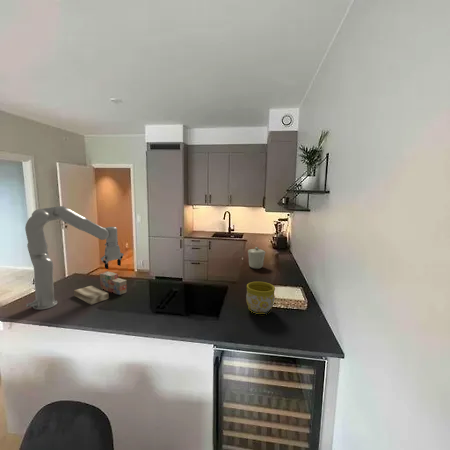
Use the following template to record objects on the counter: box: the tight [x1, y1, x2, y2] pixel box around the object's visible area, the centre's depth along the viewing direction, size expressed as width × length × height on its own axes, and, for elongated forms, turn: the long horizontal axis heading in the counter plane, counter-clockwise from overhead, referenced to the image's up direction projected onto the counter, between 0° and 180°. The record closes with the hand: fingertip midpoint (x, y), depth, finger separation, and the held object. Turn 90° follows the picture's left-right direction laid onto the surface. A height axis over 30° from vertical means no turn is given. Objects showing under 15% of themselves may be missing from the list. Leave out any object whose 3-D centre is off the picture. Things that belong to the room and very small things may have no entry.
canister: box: [247, 246, 266, 270], centre depth 260 cm, size 18×18×21 cm
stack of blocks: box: [99, 270, 128, 296], centre depth 188 cm, size 21×6×12 cm, turn 61°
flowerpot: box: [245, 281, 276, 315], centre depth 164 cm, size 18×18×16 cm
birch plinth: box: [73, 285, 110, 306], centre depth 176 cm, size 12×22×4 cm, turn 56°
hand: (113, 267), depth 187 cm, fingers open, 9 cm apart
